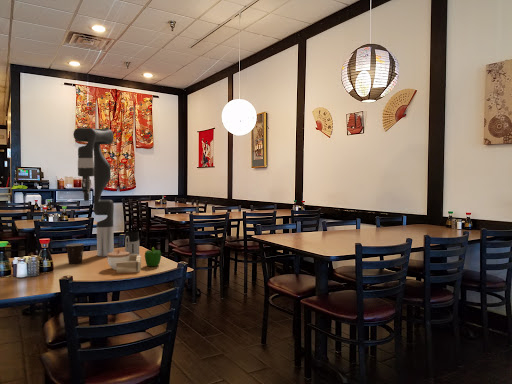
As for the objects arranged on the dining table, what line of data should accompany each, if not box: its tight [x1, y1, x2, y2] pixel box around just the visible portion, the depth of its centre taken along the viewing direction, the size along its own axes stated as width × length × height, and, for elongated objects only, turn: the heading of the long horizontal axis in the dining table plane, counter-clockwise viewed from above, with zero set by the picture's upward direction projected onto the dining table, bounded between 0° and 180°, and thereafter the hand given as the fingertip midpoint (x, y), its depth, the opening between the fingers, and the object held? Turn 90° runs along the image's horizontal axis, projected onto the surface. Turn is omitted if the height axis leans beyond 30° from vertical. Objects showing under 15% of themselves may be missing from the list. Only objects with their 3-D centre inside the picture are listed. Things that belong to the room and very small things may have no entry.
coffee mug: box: [65, 243, 85, 265], centre depth 203 cm, size 12×9×10 cm
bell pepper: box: [144, 246, 162, 267], centre depth 198 cm, size 8×8×10 cm
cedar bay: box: [115, 253, 142, 274], centre depth 193 cm, size 20×11×5 cm, turn 16°
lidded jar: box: [106, 249, 130, 271], centre depth 192 cm, size 11×11×9 cm
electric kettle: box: [124, 230, 140, 255], centre depth 216 cm, size 9×14×15 cm, turn 178°
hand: (86, 200), depth 195 cm, fingers closed
